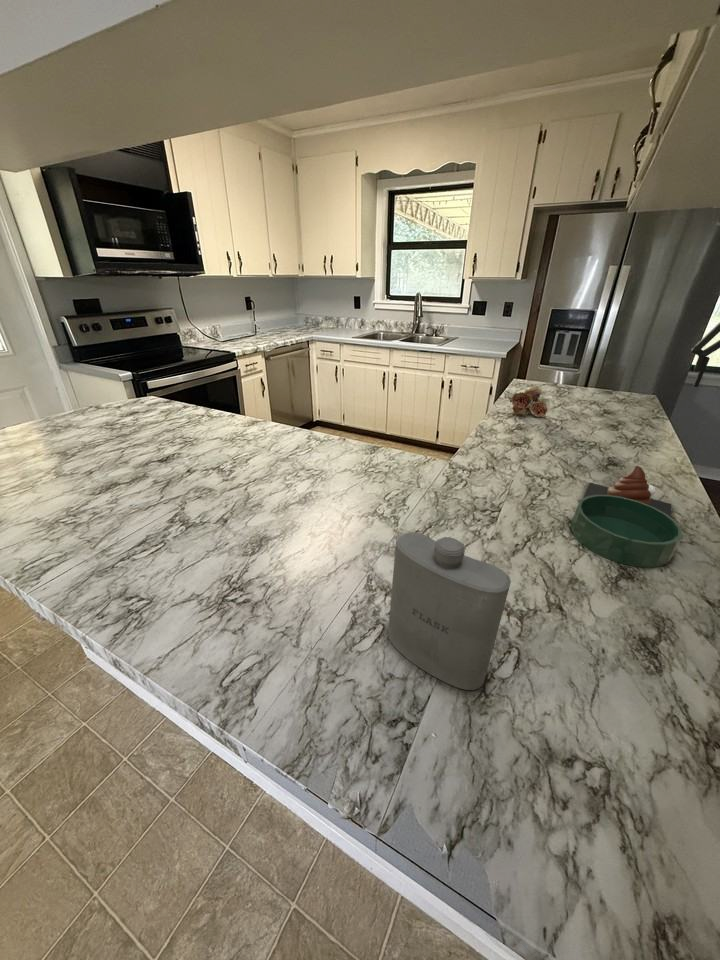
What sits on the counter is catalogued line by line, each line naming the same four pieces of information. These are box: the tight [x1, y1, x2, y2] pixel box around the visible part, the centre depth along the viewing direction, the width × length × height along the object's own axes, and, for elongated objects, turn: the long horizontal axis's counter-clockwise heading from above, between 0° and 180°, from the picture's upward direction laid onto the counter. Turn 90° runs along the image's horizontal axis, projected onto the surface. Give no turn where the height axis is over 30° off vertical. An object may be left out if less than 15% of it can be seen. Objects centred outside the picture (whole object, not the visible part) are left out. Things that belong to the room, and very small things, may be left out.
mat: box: [582, 482, 672, 518], centre depth 97 cm, size 18×12×1 cm, turn 55°
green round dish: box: [570, 495, 684, 569], centre depth 82 cm, size 18×18×6 cm
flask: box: [387, 531, 512, 691], centre depth 52 cm, size 15×6×20 cm, turn 52°
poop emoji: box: [607, 465, 657, 505], centre depth 94 cm, size 10×8×9 cm
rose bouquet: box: [508, 386, 548, 418], centre depth 156 cm, size 13×16×15 cm
